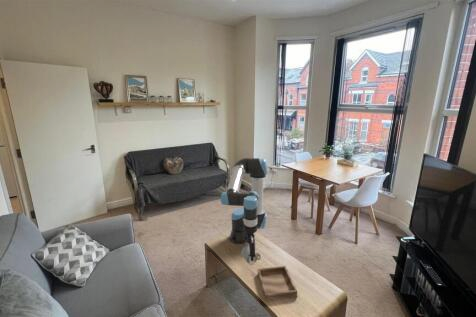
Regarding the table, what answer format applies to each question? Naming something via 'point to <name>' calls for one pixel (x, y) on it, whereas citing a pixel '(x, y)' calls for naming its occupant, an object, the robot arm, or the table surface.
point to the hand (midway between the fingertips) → (250, 258)
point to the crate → (276, 283)
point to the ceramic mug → (246, 252)
